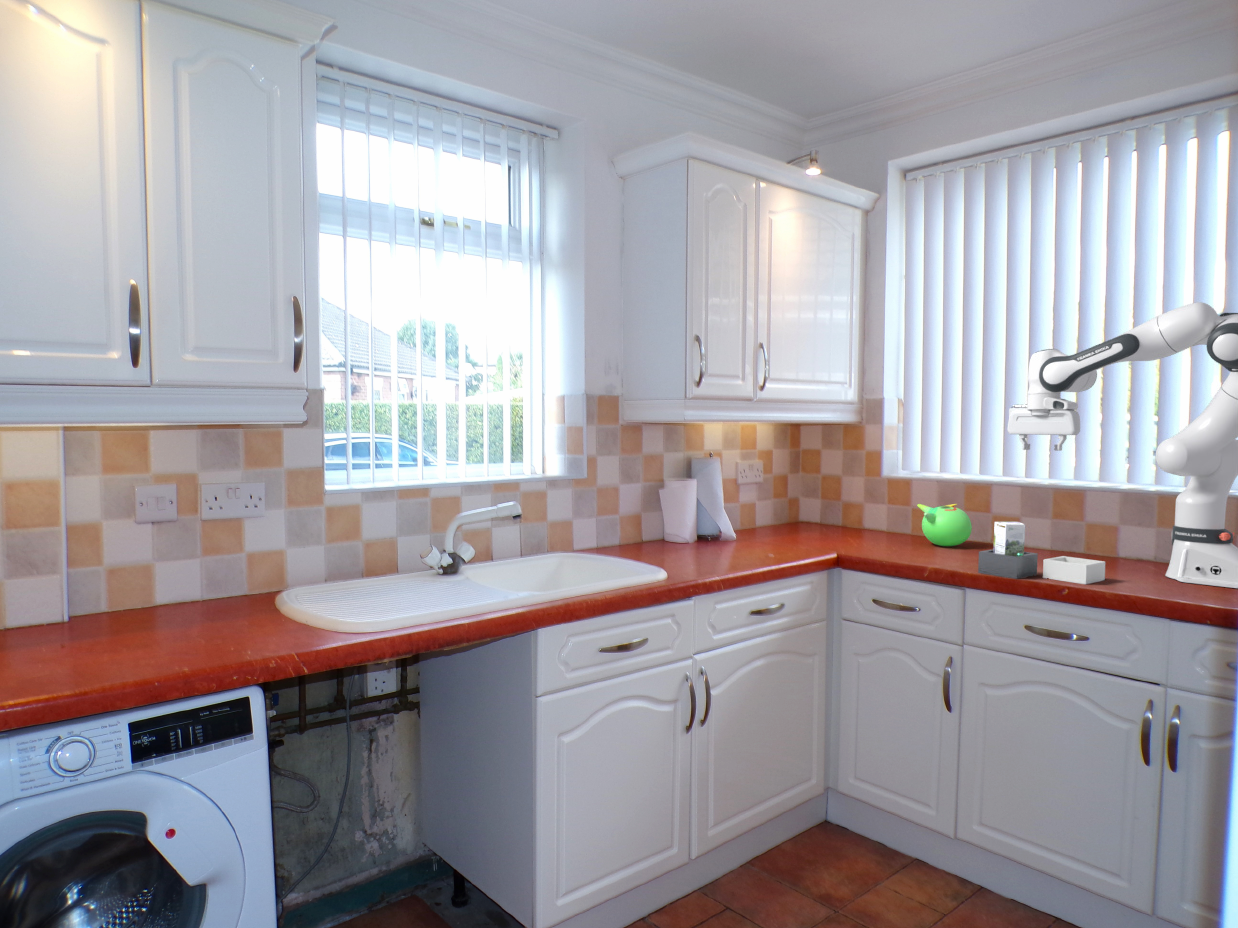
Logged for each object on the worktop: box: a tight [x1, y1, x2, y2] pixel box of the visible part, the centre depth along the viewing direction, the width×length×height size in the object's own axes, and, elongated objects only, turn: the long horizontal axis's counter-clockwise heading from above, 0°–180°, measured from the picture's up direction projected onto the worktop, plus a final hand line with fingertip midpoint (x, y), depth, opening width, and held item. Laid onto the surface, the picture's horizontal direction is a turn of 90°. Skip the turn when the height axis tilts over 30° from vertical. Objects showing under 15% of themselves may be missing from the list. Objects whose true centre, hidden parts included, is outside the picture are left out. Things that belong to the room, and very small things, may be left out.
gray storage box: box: [977, 548, 1039, 580], centre depth 225 cm, size 11×11×7 cm
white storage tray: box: [1042, 555, 1106, 585], centre depth 218 cm, size 11×11×5 cm
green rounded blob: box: [917, 503, 973, 547], centre depth 278 cm, size 18×17×15 cm
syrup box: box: [992, 521, 1026, 556], centre depth 224 cm, size 6×6×14 cm
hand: (1041, 450), depth 243 cm, fingers open, 8 cm apart
